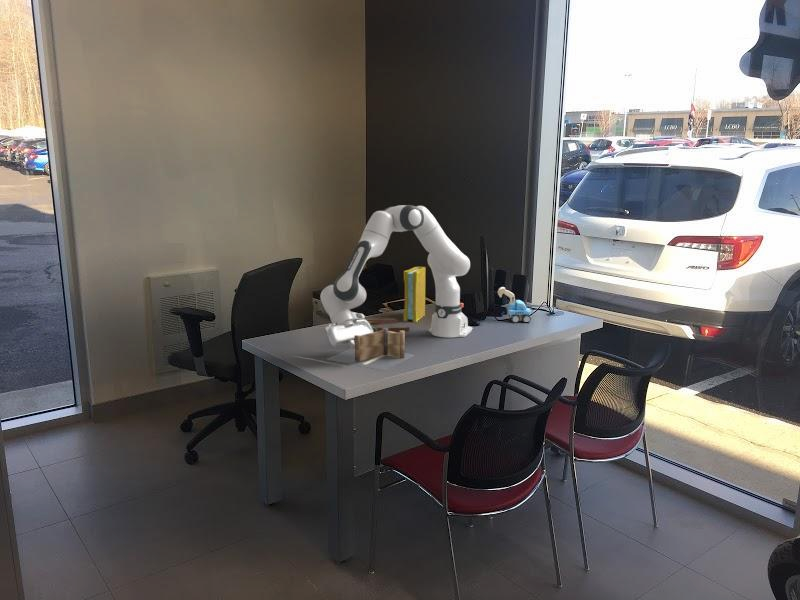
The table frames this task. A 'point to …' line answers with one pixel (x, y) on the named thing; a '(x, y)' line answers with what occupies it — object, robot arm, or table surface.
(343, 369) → the table surface
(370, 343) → the fence leaf
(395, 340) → the fixed fence
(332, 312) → the robot arm
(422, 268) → the book
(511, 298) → the toy excavator
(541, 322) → the table surface
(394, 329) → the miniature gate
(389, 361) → the board
